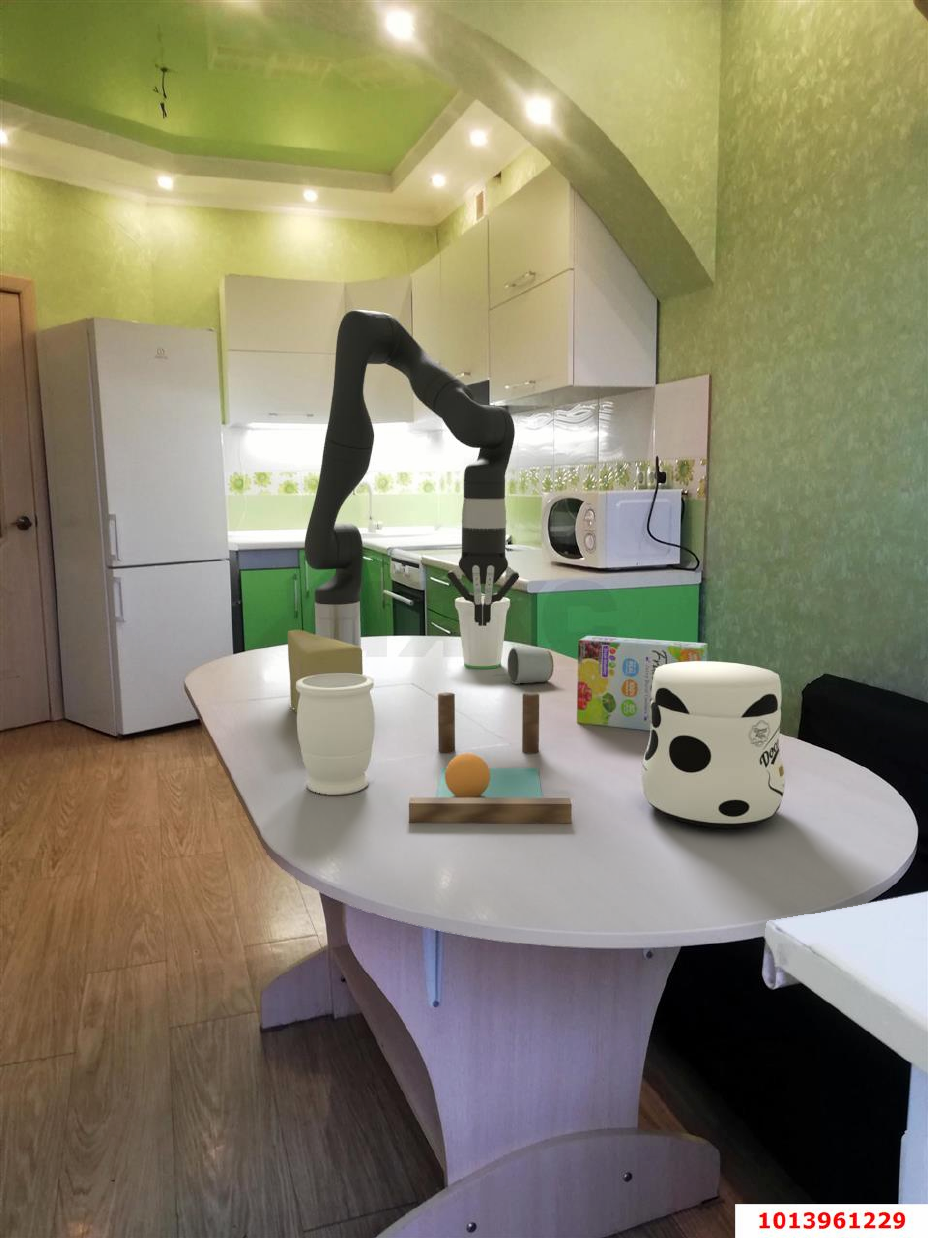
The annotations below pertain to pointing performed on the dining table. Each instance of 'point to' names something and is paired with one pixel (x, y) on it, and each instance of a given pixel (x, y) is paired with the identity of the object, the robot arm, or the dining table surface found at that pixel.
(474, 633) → the cup
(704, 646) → the snack box
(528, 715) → the right post
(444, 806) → the rail
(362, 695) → the jar
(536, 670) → the ceramic mug
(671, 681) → the spotted treat canister
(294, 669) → the cheese
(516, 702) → the dining table surface
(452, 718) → the left post
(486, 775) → the ball
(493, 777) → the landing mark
